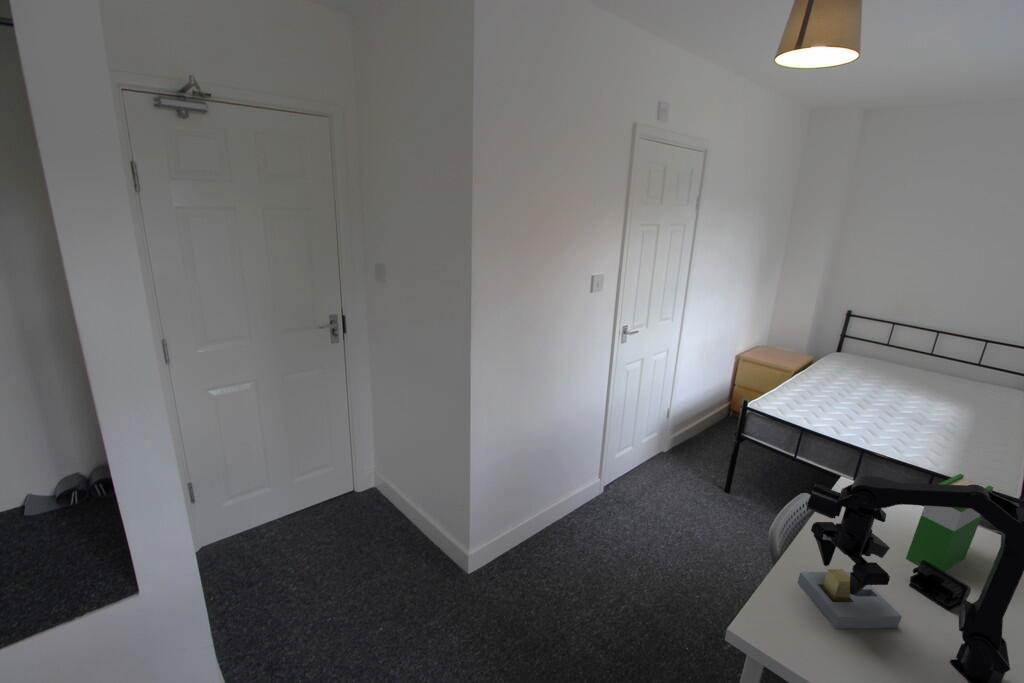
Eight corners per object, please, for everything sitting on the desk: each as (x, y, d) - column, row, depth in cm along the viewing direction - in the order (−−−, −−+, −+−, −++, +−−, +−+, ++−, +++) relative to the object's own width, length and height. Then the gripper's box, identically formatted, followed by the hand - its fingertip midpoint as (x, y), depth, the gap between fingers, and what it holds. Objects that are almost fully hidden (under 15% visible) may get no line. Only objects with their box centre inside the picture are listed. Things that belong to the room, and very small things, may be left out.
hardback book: (934, 541, 145) (960, 473, 138) (965, 557, 139) (993, 487, 132) (905, 558, 137) (931, 487, 130) (936, 576, 131) (965, 502, 124)
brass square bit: (845, 610, 118) (854, 581, 115) (830, 610, 117) (839, 581, 115) (833, 597, 121) (842, 569, 119) (819, 597, 121) (827, 569, 118)
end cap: (965, 605, 121) (974, 583, 119) (950, 613, 119) (959, 591, 117) (920, 577, 130) (928, 557, 128) (905, 584, 127) (913, 563, 125)
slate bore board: (897, 627, 113) (901, 616, 112) (834, 628, 112) (838, 616, 111) (853, 582, 127) (857, 571, 126) (797, 582, 126) (800, 571, 125)
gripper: (921, 555, 104) (900, 610, 109) (857, 502, 122) (842, 552, 127) (874, 554, 103) (855, 610, 108) (817, 502, 121) (802, 552, 126)
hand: (838, 579), depth 117 cm, fingers open, 9 cm apart
